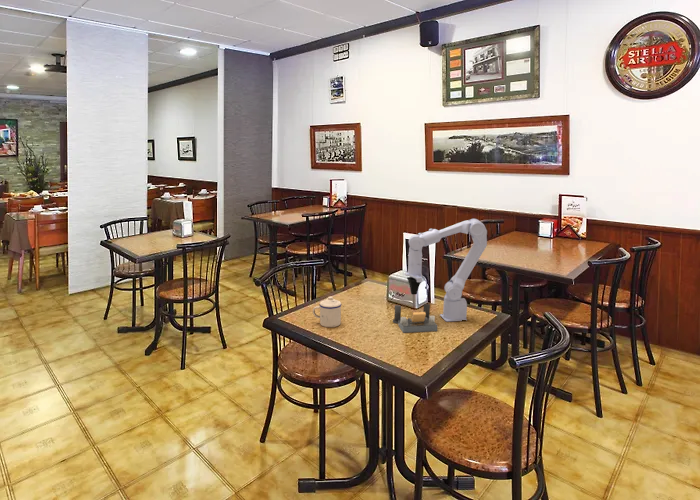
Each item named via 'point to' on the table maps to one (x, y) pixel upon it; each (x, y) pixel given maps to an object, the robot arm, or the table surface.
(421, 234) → the robot arm
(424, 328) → the panel
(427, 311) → the post
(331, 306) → the teacup with lid
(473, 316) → the table surface
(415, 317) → the tan flat block
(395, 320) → the cord post
